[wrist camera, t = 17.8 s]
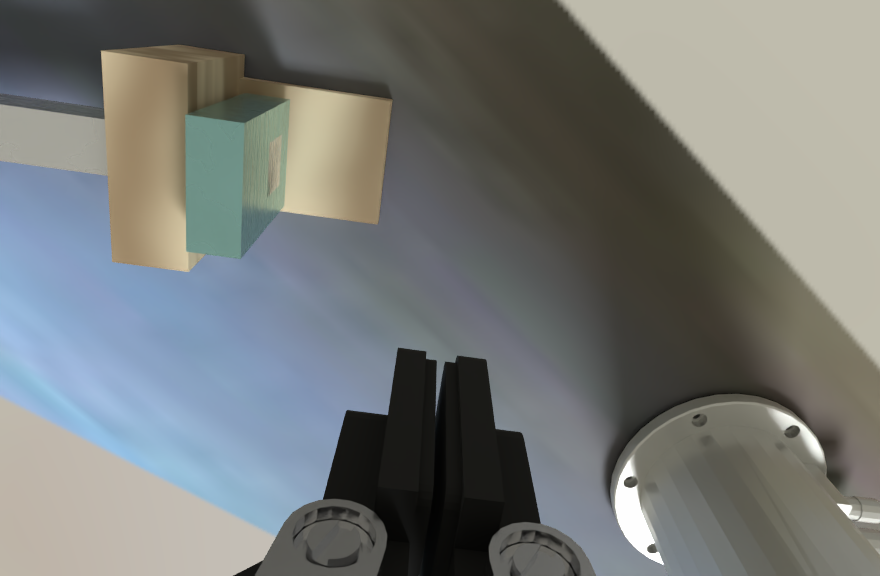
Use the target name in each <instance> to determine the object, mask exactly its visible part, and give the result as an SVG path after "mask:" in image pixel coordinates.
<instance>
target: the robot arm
mask: <svg viewBox="0 0 880 576" xmlns="http://www.w3.org/2000/svg"><path fill="white" fill-rule="evenodd" d="M436 366H437V361H436V360H429V359H426V351H419V350H411V349H404V348H398V351H397V358H396V365H395V371H394V378H393V385H392V392H391V398H390V405H389V412H388V415H382V414H374V413H366V412H358V411H351V410H347V411H346V414H345V417H344V421H343V425H342V429H341V433H340V436H339V440H338V444H337V448H336V452H335V455H334V459H333V463H332V467H331V471H330V475H329V478H328V482H327V486H326V490H325V494H324V497H323V500H318V501H315V502H312V503H309V504H306V505H304V506H302V507H301V508H299V509H298V510H296V511H294V512H293V513H292V514H291V515H290V516H289V518H288V519H287V520H286V521H285V522H284V524H283V526H282V528H281V529H280V531H279V533H278V535H277V537H276V539H275V540H274V542H273V544H272V546H271V547H270V549H269V551H268V553H267V555H266V556H265V558H264V560H263V561H261V562H259V563H257V564H255V565H253V566H252V567H250V568H247V569H246V570H244V571H242V572H240V573H238V574H236V575H234V576H596V574H595V572H594V570H593V568H592V565H591V563H590V561H589V559H588V558H587V556H586V554H585V553H584V551H583V550H582V548H581V547H580V546H579V545H578V544H577V543H576V542H574V541H573V540H572V539H571V538H570V537H569V536H567V535H565V534H564V533H562V532H560V531H558V530H557V529H554V528H552V527H549V526H546V525H543V524H541V523H540V518H539V513H538V508H537V503H536V497H535V492H534V487H533V482H532V477H531V472H530V467H529V462H528V457H527V452H526V447H525V442H524V438H523V435H522V433H520V432H514V431H506V430H498V429H495V422H494V415H493V407H492V399H491V392H490V384H489V376H488V369H487V361H486V359H478V358H471V357H463V356H457V358H456V362H455V363H452V362H445V365H444V370H443V375H442V381H441V387H440V393H439V399H438V405H437V411H436V417H435V409H436ZM826 473H827V465H826V460H825V455H824V451H823V449H822V447H821V445H820V443H819V441H818V439H817V437H816V436H815V434H814V433H813V432H812V431H811V430H810V429H809V427H808V426H807V425H806V424H805V423H804V422H803V421H802V420H801V419H800V418H799V417H798V416H797V415H796V414H794V413H793V412H792V411H791V410H789V409H787V408H786V407H784V406H782V405H780V404H778V403H777V402H774V401H771V400H768V399H765V398H761V397H758V396H751V395H743V394H720V395H712V396H707V397H703V398H698V399H694V400H691V401H689V402H686V403H683V404H680V405H678V406H675V407H673V408H671V409H670V410H668V411H666V412H664V413H662V414H661V415H659V416H657V417H656V418H654V419H653V420H652V421H651V422H649V423H648V424H647V425H645V426H644V427H643V428H642V429H640V431H639V432H638V433H637V434H636V435H635V436H634V437H633V438H632V439H631V440H630V442H629V443H628V444H627V445H626V447H625V449H624V450H623V452H622V453H621V455H620V457H619V458H618V461H617V463H616V466H615V469H614V471H613V474H612V480H611V488H610V495H611V504H612V508H613V511H614V514H615V517H616V520H617V523H618V525H619V527H620V529H621V531H622V533H623V534H624V536H625V537H626V539H627V540H628V541H629V542H630V543H631V544H632V545H633V547H634V548H635V549H637V550H638V551H639V552H641V553H642V554H643V555H645V556H646V557H648V558H650V559H652V560H654V561H656V562H659V563H661V564H663V565H664V567H665V570H666V572H667V574H668V576H880V532H879V531H878V530H873V529H865V528H857V527H856V526H855V525H854V524H853V522H852V521H851V520H853V521H857V522H866V523H879V522H880V502H879V501H877V500H876V499H873V498H864V497H855V496H853V497H845V496H843V495H842V494H841V493H840V492H839V491H838V490H837V489H836V487H835V486H834V485H833V484H832V483H831V482H830V480H829V479H828V478H827V477H826ZM419 574H420V575H419Z"/></svg>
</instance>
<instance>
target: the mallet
mask: <svg viewBox="0 0 880 576" xmlns="http://www.w3.org/2000/svg"><path fill="white" fill-rule="evenodd" d="M289 110H290V99H284V98H277V97H270V96H264V95H257V94H250V93H244V94H241V95H238V96H235V97H232V98H230V99H227V100H224V101H221V102H219V103H216V104H213V105H210V106H208V107H205V108H202V109H199V110H197V111H194V112H191V113H188V114H186V115H185V145H186V252H192V253H200V254H207V255H215V256H223V257H230V258H238V259H241V258H242V256H243V255H244V254H245V253H246V252H247V250H248V249H249V248H250V247H251V246H252V244H253V243H254V242H255V241H256V240H257V238H258V237H259V236H260V235H261V233H262V232H263V231H264V230H265V229H266V227H267V226H268V225H269V224H270V223H271V221H272V220H273V219H274V218H275V217H276V215H277V214H278V213H279V212H280V210H281V209H282V208H283V207H284V201H285V183H286V165H287V146H288V128H289ZM0 161H5V162H12V163H20V164H27V165H34V166H41V167H48V168H56V169H63V170H70V171H77V172H84V173H92V174H99V175H106V176H108V171H107V152H106V133H105V114H104V108H98V107H91V106H84V105H78V104H71V103H64V102H57V101H50V100H43V99H36V98H29V97H23V96H16V95H9V94H2V93H0Z"/></svg>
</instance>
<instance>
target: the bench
mask: <svg viewBox="0 0 880 576" xmlns="http://www.w3.org/2000/svg"><path fill="white" fill-rule="evenodd" d="M101 58H102V77H103V96H104V114H105V133H106V152H107V171H108V190H109V209H110V228H111V246H112V262H117V263H125V264H132V265H140V266H148V267H155V268H163V269H171V270H178V271H186V272H189V271H190V270H191V269H192V268H193V267H194V266H195V265H196V264H197V263H198V262H199V261H200V260H201V259H202V258H203V257H204V256H205V255H206V254H200V253H192V252H186V145H185V115H186V114H188V113H191V112H194V111H197V110H199V109H202V108H205V107H208V106H210V105H213V104H216V103H219V102H221V101H224V100H227V99H230V98H232V97H235V96H238V95H241V94H244V93H250V94H257V95H264V96H270V97H277V98H284V99H290V110H289V128H288V146H287V165H286V183H285V201H284V207H283V208H282V209H281V210H280V211H284V212H291V213H298V214H305V215H313V216H320V217H327V218H334V219H342V220H349V221H356V222H364V223H371V224H378V221H379V214H380V206H381V197H382V188H383V179H384V171H385V162H386V153H387V144H388V136H389V127H390V118H391V109H392V100H393V99H386V98H380V97H373V96H366V95H360V94H353V93H346V92H340V91H333V90H327V89H320V88H313V87H307V86H300V85H293V84H287V83H280V82H273V81H267V80H260V79H253V78H247V77H244V65H245V55H244V54H237V53H231V52H224V51H218V50H211V49H205V48H198V47H192V46H185V45H167V46H154V47H141V48H129V49H116V50H103V51H101Z"/></svg>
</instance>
